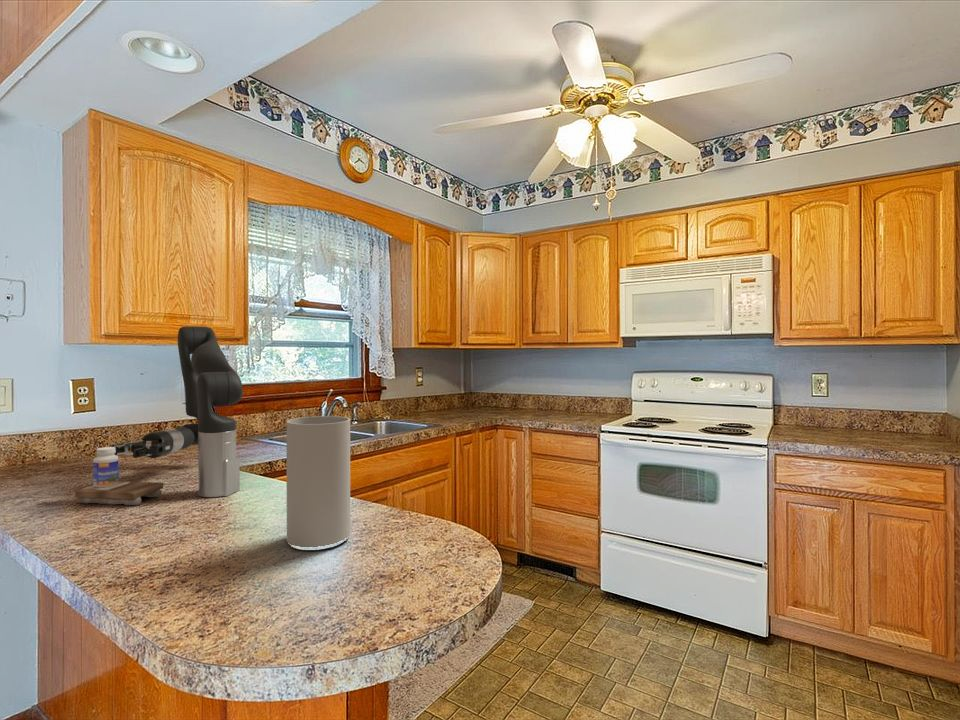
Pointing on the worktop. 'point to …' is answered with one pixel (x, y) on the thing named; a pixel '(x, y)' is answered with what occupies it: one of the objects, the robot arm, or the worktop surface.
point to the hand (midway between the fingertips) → (119, 453)
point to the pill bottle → (105, 468)
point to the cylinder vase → (318, 480)
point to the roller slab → (119, 493)
